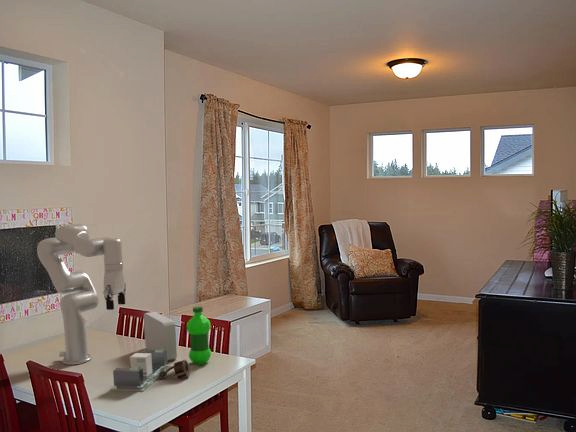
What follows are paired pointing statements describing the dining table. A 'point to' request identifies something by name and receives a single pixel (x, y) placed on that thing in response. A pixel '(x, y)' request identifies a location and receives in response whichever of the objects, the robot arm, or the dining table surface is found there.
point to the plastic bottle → (199, 337)
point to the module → (142, 362)
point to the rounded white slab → (160, 333)
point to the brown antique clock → (177, 370)
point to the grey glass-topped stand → (140, 373)
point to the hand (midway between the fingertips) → (116, 306)
